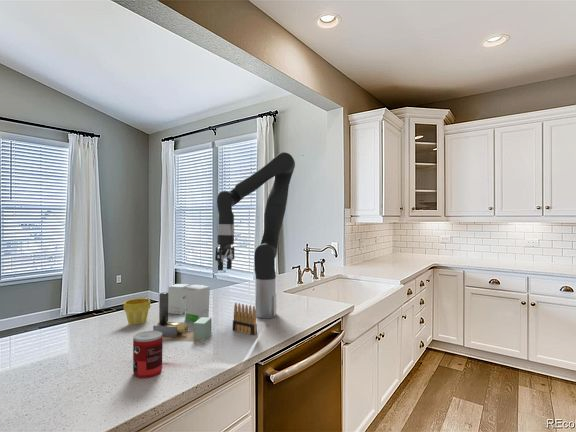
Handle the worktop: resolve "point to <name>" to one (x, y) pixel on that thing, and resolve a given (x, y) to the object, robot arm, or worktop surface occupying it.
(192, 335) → the oak board
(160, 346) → the canned food
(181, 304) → the supplement box
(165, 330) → the grey bolt guide channel
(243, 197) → the robot arm
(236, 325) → the ammunition clip
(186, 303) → the skincare box
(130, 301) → the plant pot
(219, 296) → the worktop surface
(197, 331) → the socket block
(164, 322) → the slide bolt
